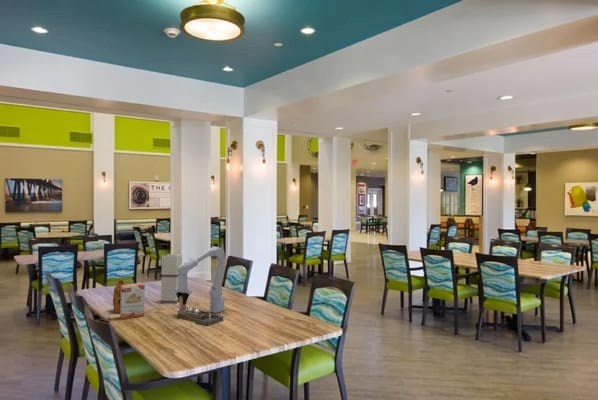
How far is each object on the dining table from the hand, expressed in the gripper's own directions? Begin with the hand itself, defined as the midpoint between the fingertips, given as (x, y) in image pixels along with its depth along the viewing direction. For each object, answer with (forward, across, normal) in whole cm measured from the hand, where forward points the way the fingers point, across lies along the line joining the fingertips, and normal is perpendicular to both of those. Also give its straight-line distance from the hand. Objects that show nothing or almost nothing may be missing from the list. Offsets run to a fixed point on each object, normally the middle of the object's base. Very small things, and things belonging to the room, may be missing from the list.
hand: (182, 303), depth 269 cm
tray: (+8, +24, 0) cm, 26 cm away
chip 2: (+3, +14, 0) cm, 14 cm away
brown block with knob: (+4, 0, 0) cm, 4 cm away
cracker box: (+8, -25, -20) cm, 33 cm away
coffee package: (+8, -43, -16) cm, 46 cm away
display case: (+8, -36, +21) cm, 42 cm away
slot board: (+8, +10, 0) cm, 13 cm away
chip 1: (+3, +8, 0) cm, 8 cm away
